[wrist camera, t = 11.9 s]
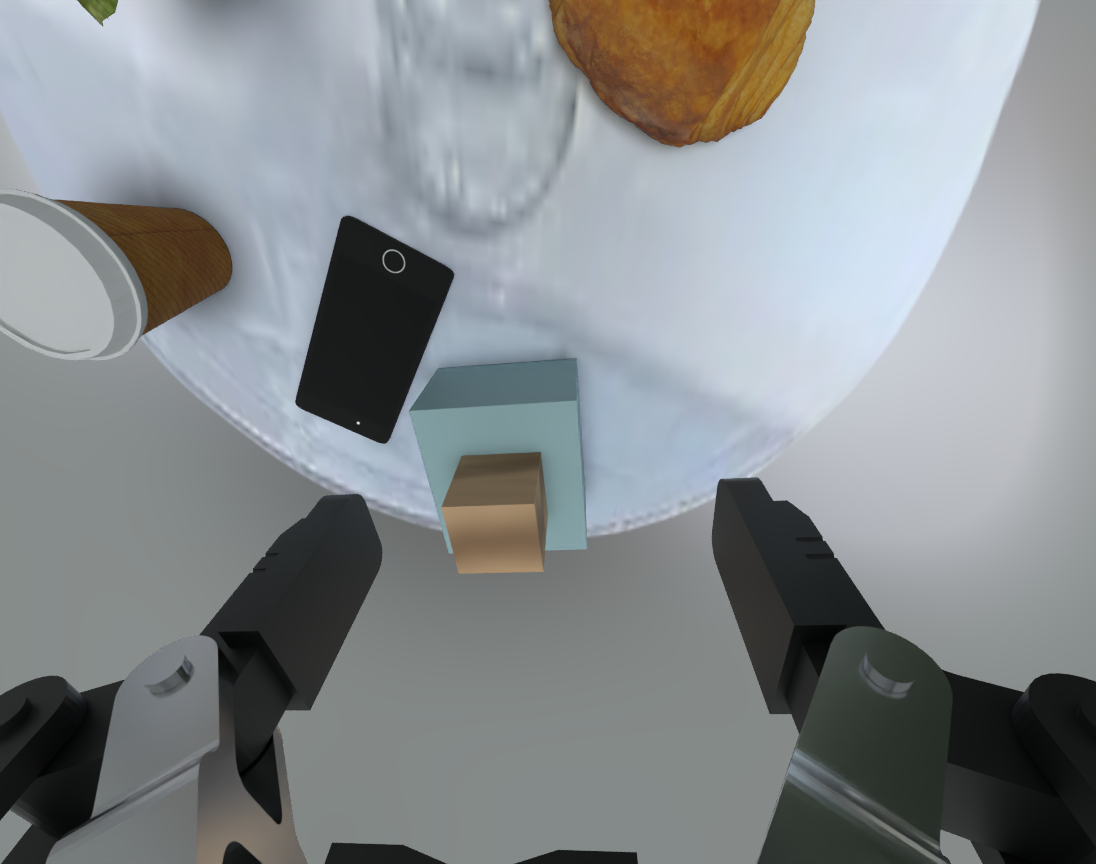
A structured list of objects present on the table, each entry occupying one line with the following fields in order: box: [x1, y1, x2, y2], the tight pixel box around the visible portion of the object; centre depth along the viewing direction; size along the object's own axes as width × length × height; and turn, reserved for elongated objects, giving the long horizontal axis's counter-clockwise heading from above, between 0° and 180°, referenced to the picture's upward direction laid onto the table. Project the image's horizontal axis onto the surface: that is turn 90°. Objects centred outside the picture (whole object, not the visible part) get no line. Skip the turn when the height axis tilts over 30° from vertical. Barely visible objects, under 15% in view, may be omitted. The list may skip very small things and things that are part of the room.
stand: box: [409, 359, 587, 553], centre depth 39 cm, size 14×12×8 cm
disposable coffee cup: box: [0, 189, 232, 360], centre depth 30 cm, size 10×10×12 cm
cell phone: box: [295, 216, 454, 444], centre depth 38 cm, size 9×18×1 cm, turn 152°
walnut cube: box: [441, 452, 548, 573], centre depth 32 cm, size 6×6×6 cm
